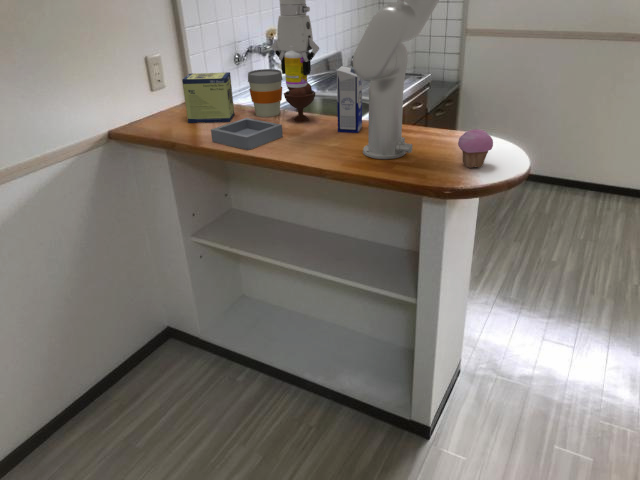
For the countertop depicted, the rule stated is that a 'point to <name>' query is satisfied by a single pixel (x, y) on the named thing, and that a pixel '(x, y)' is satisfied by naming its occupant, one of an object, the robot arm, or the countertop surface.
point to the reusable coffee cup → (266, 91)
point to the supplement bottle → (294, 69)
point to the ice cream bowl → (300, 100)
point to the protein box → (208, 97)
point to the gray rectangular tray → (247, 133)
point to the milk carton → (349, 100)
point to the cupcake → (475, 147)
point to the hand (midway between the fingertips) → (296, 73)
